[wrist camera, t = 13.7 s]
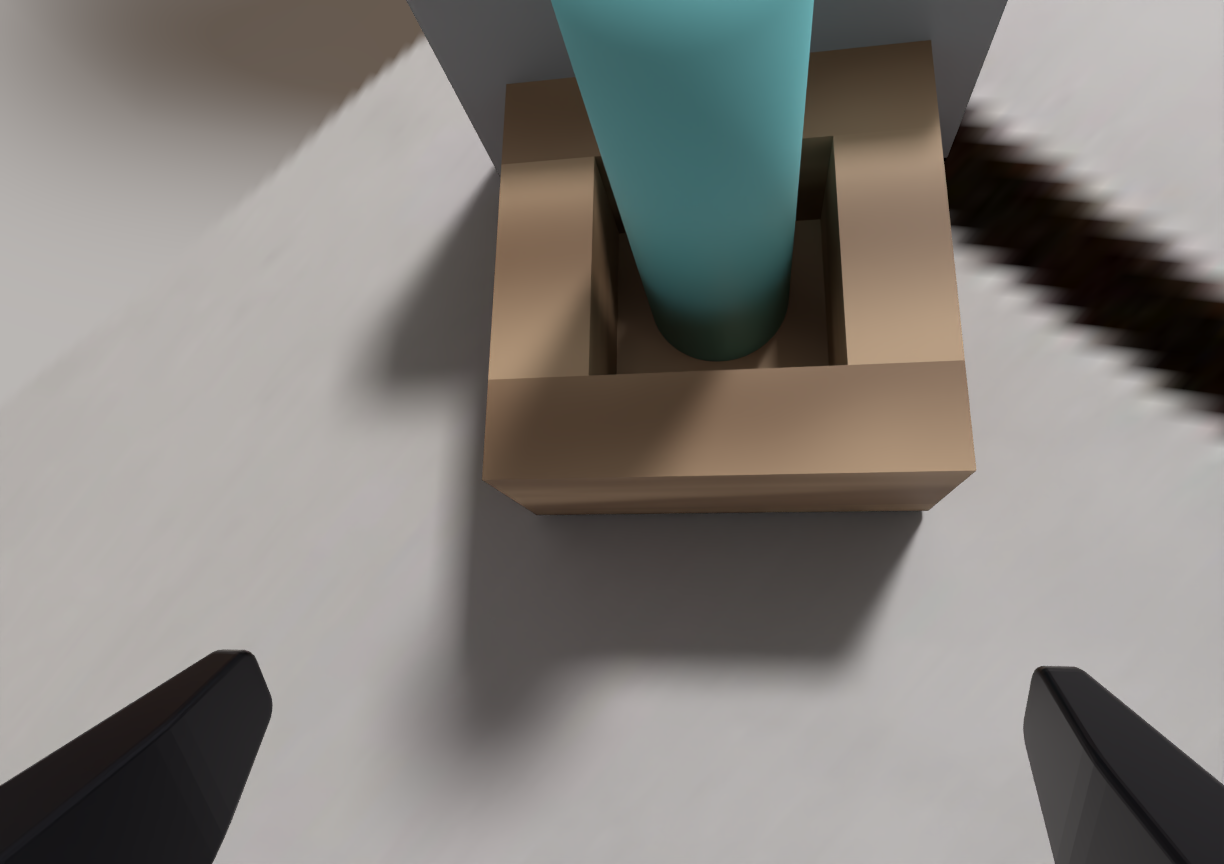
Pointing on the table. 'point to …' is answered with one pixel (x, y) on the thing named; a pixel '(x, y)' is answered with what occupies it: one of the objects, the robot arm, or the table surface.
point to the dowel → (700, 153)
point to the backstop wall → (842, 18)
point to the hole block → (761, 381)
